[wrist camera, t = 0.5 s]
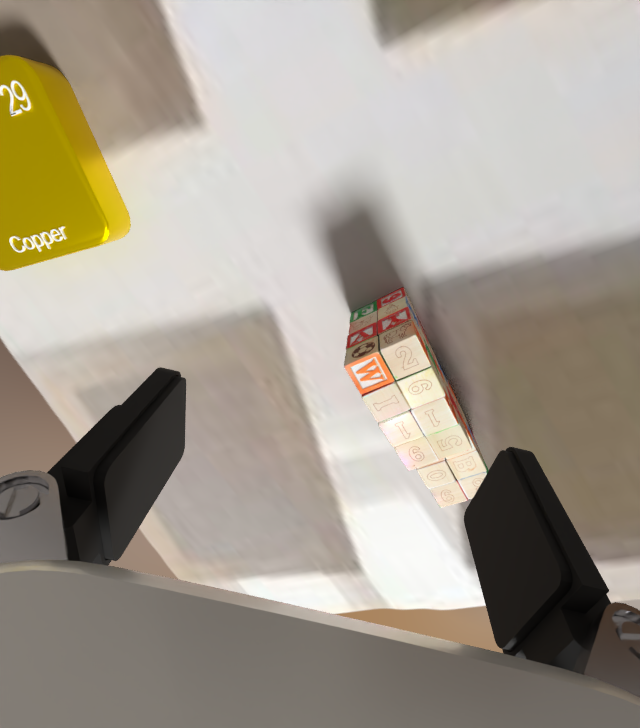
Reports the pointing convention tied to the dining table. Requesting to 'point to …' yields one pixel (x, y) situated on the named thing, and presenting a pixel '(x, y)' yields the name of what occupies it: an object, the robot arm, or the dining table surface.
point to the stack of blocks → (413, 398)
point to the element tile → (50, 170)
